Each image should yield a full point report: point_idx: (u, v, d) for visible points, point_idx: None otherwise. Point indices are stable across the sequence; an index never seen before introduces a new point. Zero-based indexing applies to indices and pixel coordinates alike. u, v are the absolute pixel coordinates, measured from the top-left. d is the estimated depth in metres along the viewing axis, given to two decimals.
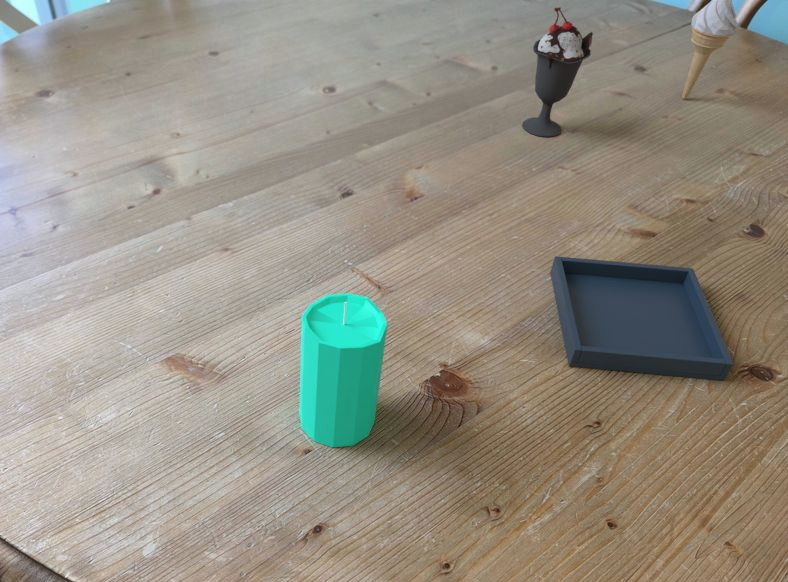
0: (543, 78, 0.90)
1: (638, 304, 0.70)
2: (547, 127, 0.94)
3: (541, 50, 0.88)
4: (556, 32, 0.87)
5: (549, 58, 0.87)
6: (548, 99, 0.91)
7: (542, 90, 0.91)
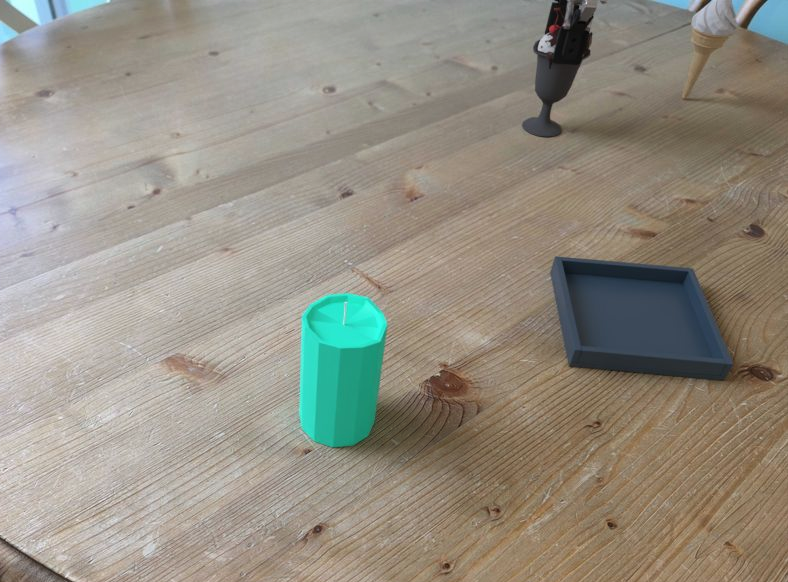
0: (543, 78, 0.90)
1: (638, 304, 0.70)
2: (547, 127, 0.94)
3: (541, 50, 0.88)
4: (556, 32, 0.87)
5: (549, 58, 0.87)
6: (548, 99, 0.91)
7: (542, 90, 0.91)
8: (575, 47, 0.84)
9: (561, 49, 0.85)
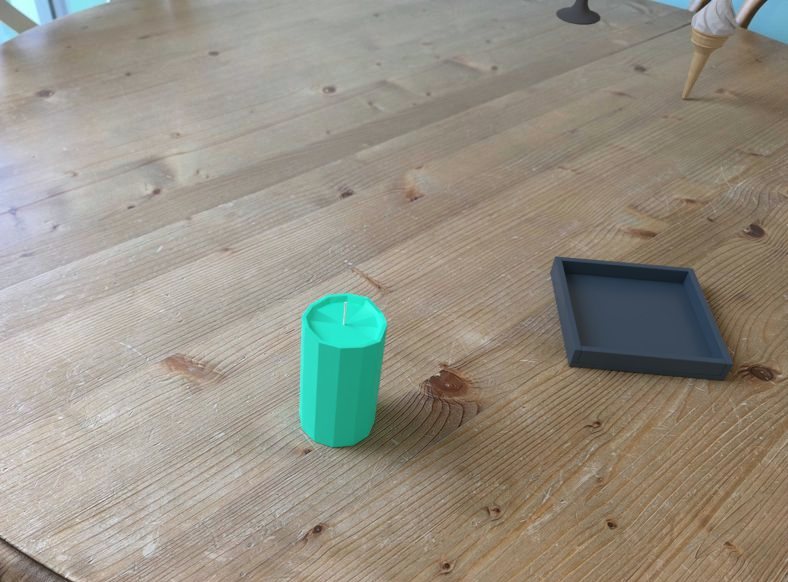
0: None
1: (638, 304, 0.70)
2: (584, 14, 0.84)
3: None
4: None
5: None
6: None
7: None
8: None
9: None
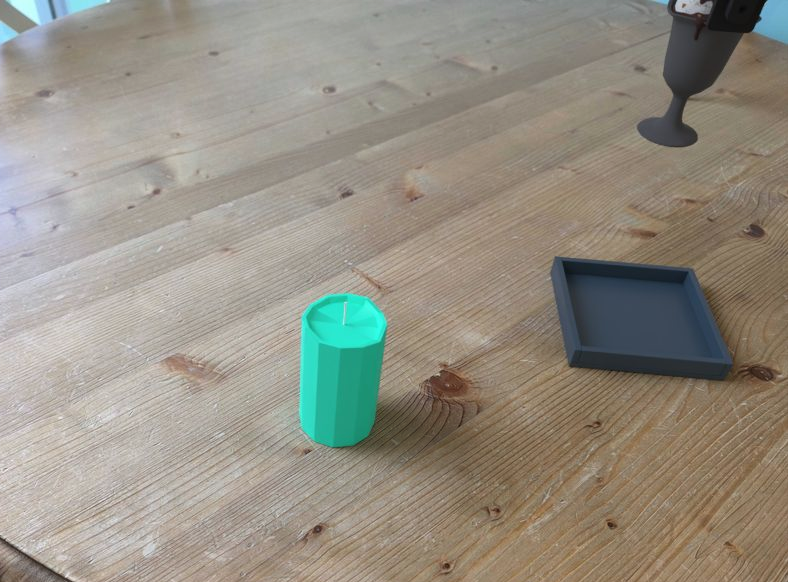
0: (681, 56, 0.57)
1: (638, 304, 0.70)
2: (678, 132, 0.62)
3: (682, 11, 0.55)
4: None
5: (698, 23, 0.54)
6: (685, 89, 0.59)
7: (677, 75, 0.58)
8: (750, 3, 0.51)
9: (724, 7, 0.52)
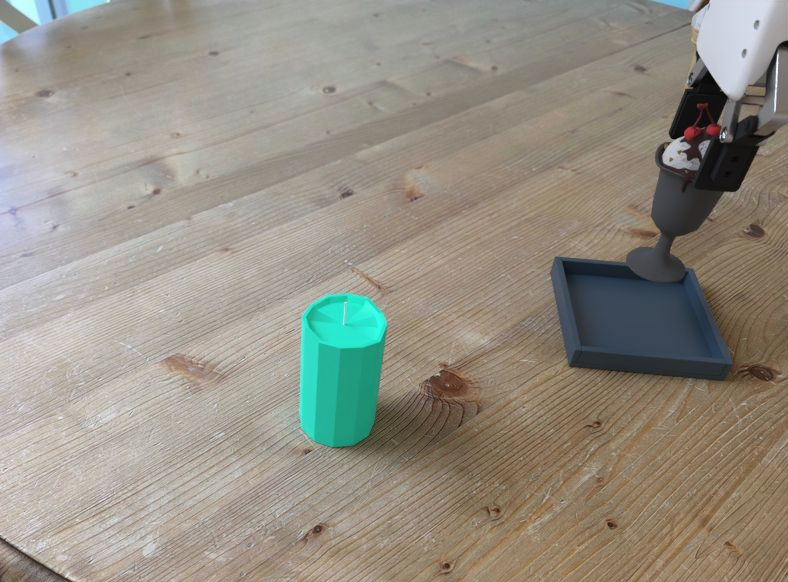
0: (669, 204, 0.58)
1: (638, 304, 0.70)
2: (666, 268, 0.63)
3: (670, 164, 0.57)
4: (696, 139, 0.55)
5: (685, 179, 0.56)
6: (673, 232, 0.60)
7: (665, 220, 0.60)
8: (735, 169, 0.53)
9: (710, 170, 0.54)
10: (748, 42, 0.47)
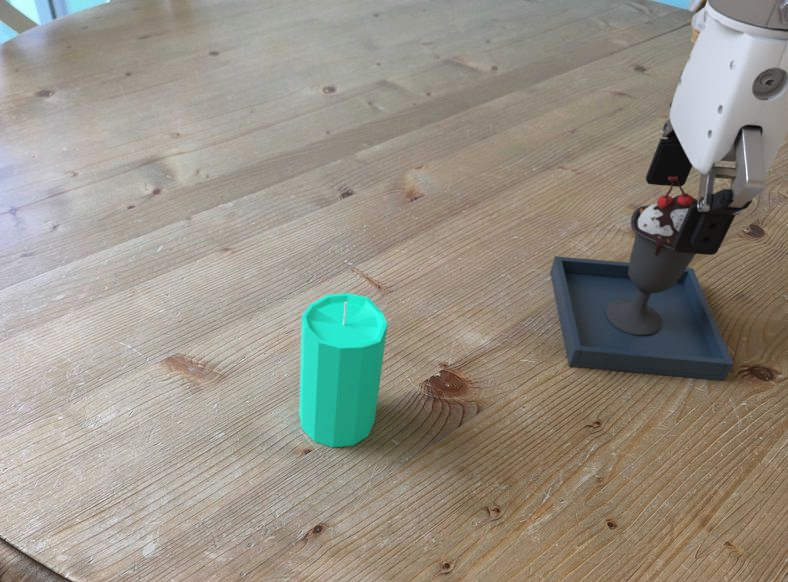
0: (644, 265, 0.63)
1: None
2: (643, 321, 0.67)
3: (644, 230, 0.61)
4: (668, 207, 0.60)
5: (658, 245, 0.60)
6: (649, 290, 0.64)
7: (641, 279, 0.64)
8: (713, 235, 0.55)
9: (689, 235, 0.56)
10: (713, 124, 0.51)
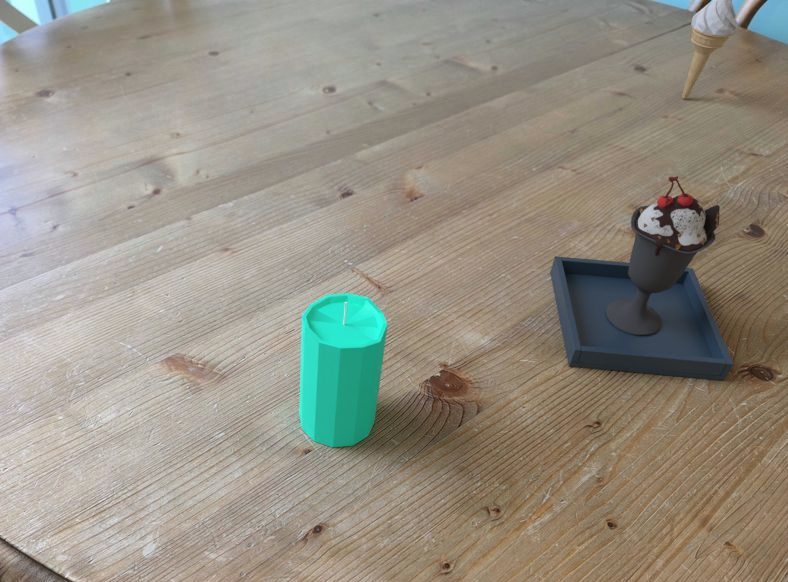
0: (644, 265, 0.63)
1: None
2: (643, 321, 0.67)
3: (644, 230, 0.61)
4: (668, 208, 0.60)
5: (658, 245, 0.60)
6: (649, 290, 0.64)
7: (641, 279, 0.64)
8: None
9: None
10: None
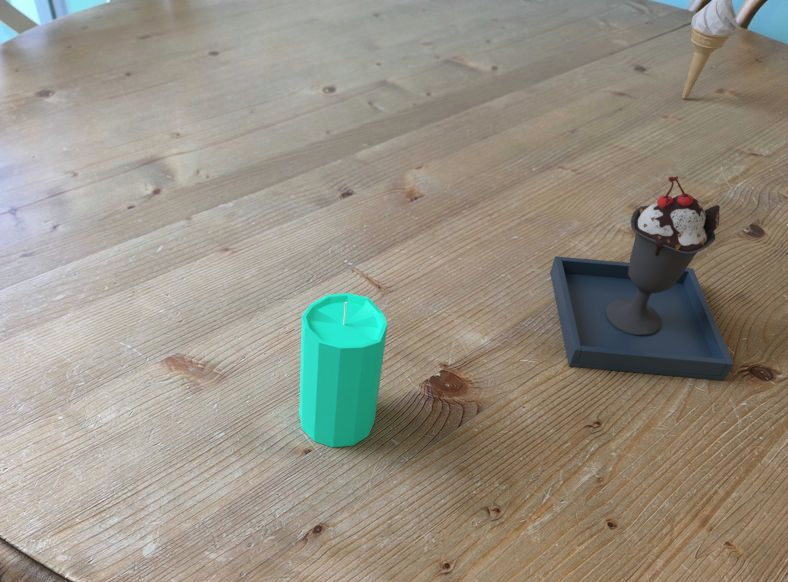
0: (644, 265, 0.63)
1: None
2: (643, 321, 0.67)
3: (644, 230, 0.61)
4: (668, 208, 0.60)
5: (658, 245, 0.60)
6: (649, 290, 0.64)
7: (641, 279, 0.64)
8: None
9: None
10: None
